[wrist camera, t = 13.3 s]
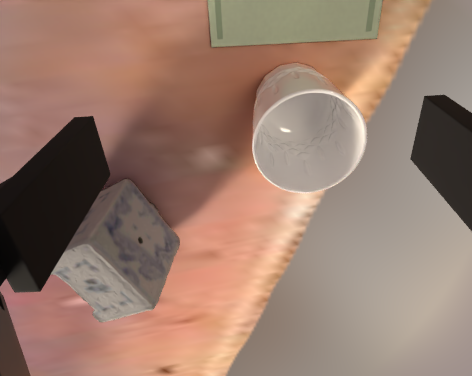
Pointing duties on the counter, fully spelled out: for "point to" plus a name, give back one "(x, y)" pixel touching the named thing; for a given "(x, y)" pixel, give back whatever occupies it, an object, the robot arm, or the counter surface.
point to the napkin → (291, 21)
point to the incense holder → (119, 254)
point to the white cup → (305, 130)
